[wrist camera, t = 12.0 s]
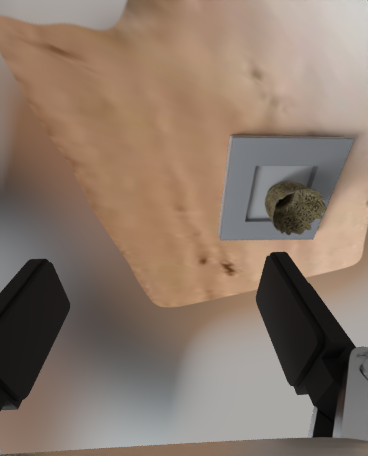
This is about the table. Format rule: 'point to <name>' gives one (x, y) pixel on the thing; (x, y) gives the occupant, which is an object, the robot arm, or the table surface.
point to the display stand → (275, 179)
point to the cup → (293, 207)
